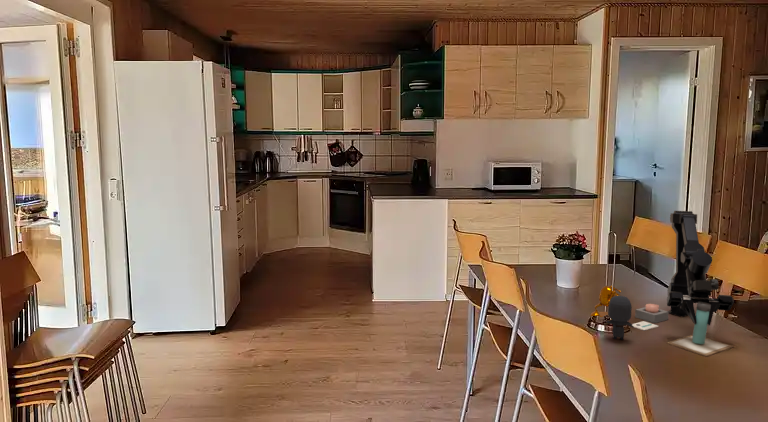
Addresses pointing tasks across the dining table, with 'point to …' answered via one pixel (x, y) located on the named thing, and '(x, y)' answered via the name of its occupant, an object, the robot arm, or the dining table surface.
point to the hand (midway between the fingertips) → (702, 324)
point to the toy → (619, 315)
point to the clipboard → (700, 346)
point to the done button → (652, 308)
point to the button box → (651, 315)
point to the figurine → (605, 299)
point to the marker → (701, 322)
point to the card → (644, 325)
